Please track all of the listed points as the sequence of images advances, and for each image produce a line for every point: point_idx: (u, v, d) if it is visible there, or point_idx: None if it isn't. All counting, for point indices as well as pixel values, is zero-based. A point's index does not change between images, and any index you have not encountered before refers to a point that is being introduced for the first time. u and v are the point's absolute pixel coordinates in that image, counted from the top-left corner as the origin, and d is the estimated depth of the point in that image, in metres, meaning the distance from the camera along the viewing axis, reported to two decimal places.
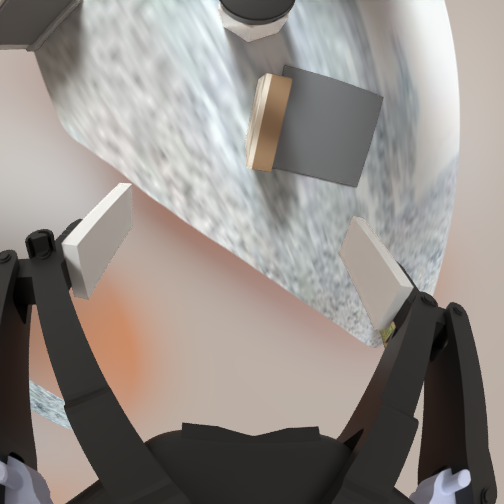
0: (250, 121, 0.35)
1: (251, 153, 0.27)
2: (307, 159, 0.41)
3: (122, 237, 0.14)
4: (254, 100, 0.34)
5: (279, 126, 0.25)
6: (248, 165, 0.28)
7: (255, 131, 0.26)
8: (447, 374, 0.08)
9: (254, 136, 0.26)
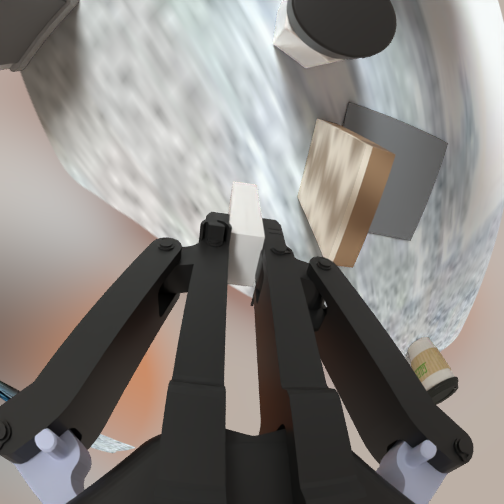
0: (310, 177, 0.29)
1: (334, 248, 0.21)
2: None
3: None
4: (314, 148, 0.28)
5: (371, 216, 0.20)
6: None
7: (343, 222, 0.20)
8: (344, 345, 0.09)
9: (340, 228, 0.20)
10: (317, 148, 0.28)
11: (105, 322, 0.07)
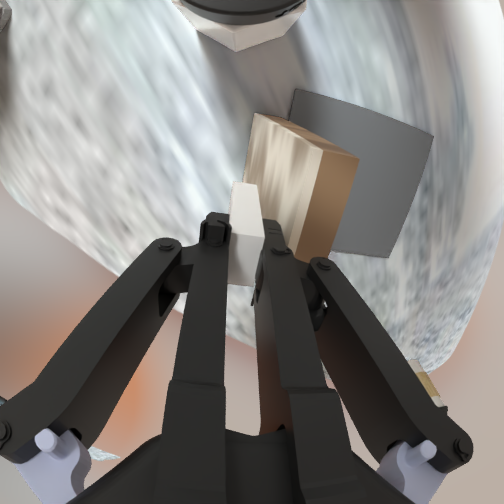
0: None
1: None
2: None
3: None
4: (252, 152, 0.23)
5: (327, 249, 0.15)
6: None
7: None
8: (344, 345, 0.09)
9: None
10: (255, 151, 0.22)
11: (105, 322, 0.07)
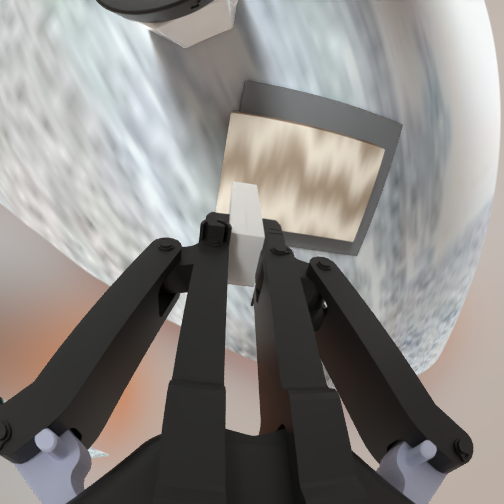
0: None
1: (357, 227, 0.27)
2: None
3: None
4: (250, 154, 0.22)
5: None
6: (353, 239, 0.27)
7: (365, 207, 0.26)
8: (344, 345, 0.09)
9: (363, 212, 0.26)
10: (261, 153, 0.22)
11: (105, 322, 0.07)
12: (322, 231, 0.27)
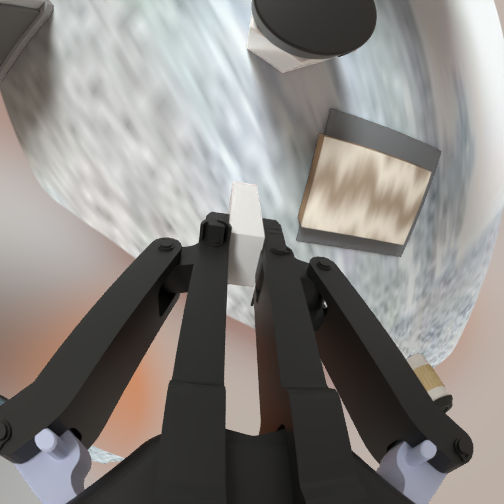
0: (339, 200, 0.28)
1: None
2: None
3: None
4: (337, 172, 0.27)
5: None
6: (403, 242, 0.32)
7: (414, 217, 0.30)
8: (344, 345, 0.09)
9: (412, 221, 0.30)
10: (346, 172, 0.27)
11: (105, 322, 0.07)
12: (382, 236, 0.31)
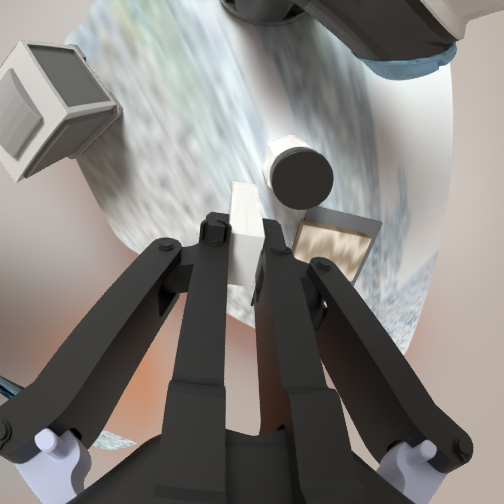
0: (310, 258, 0.51)
1: (354, 274, 0.54)
2: None
3: None
4: (310, 244, 0.50)
5: None
6: None
7: (359, 265, 0.53)
8: (344, 345, 0.09)
9: (358, 267, 0.53)
10: (315, 243, 0.50)
11: (105, 322, 0.07)
12: None
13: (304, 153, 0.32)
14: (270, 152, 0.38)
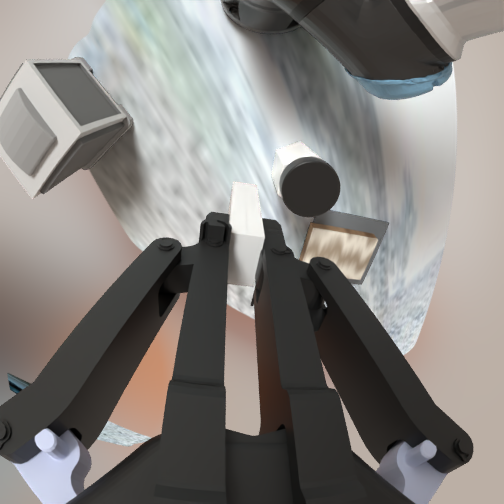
0: None
1: (362, 273, 0.56)
2: None
3: None
4: (319, 245, 0.51)
5: None
6: (360, 278, 0.56)
7: (367, 264, 0.55)
8: (344, 345, 0.09)
9: (366, 266, 0.55)
10: (324, 245, 0.51)
11: (105, 322, 0.07)
12: (346, 276, 0.56)
13: (312, 164, 0.34)
14: (279, 161, 0.39)
